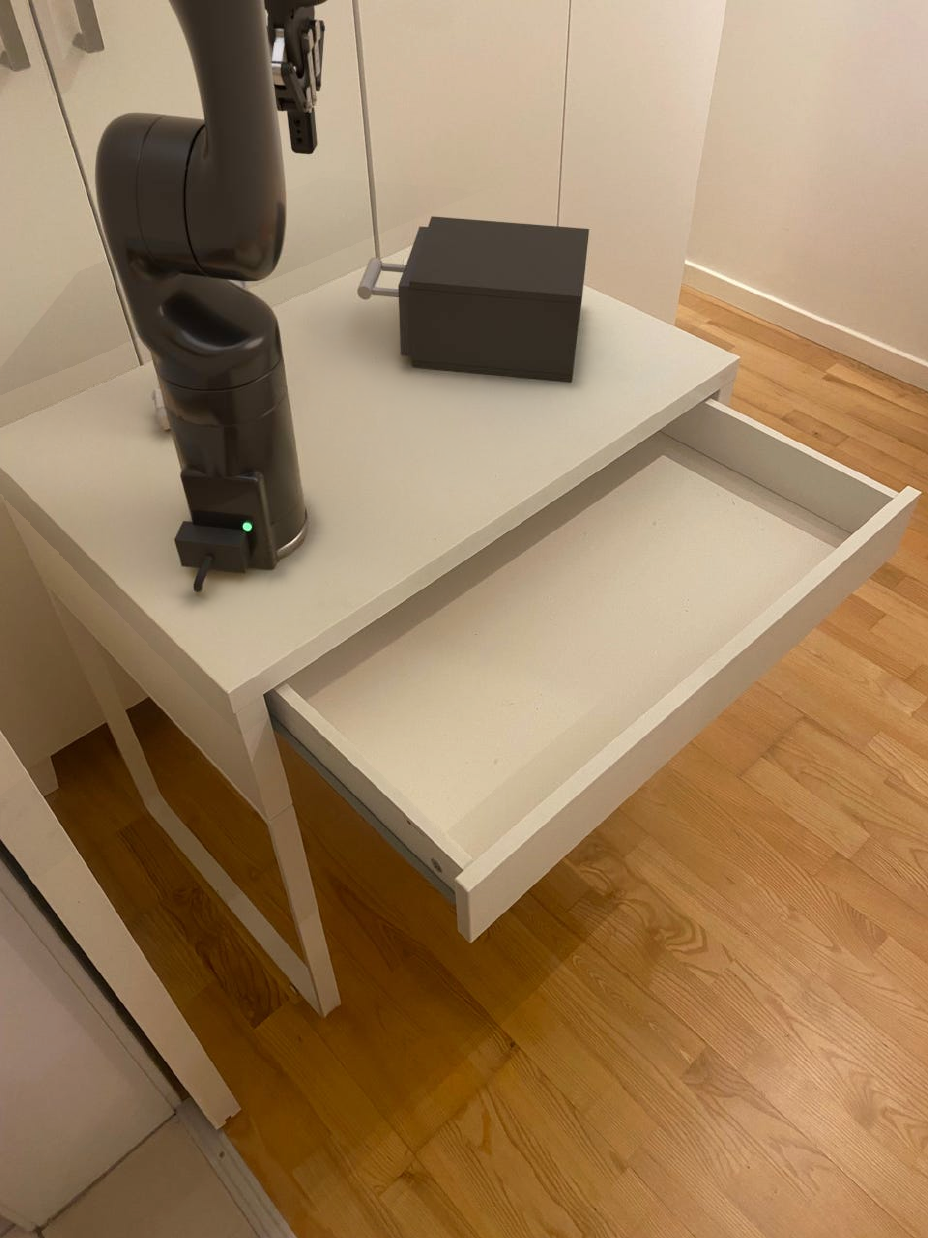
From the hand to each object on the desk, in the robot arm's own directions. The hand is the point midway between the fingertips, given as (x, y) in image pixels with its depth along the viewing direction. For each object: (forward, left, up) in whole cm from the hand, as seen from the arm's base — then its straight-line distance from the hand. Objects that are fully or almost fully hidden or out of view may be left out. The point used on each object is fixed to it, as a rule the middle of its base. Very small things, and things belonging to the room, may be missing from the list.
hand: (304, 150), depth 91 cm
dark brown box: (0, -19, -18) cm, 27 cm away
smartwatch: (-20, +10, -18) cm, 29 cm away
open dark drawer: (0, -15, -17) cm, 23 cm away
